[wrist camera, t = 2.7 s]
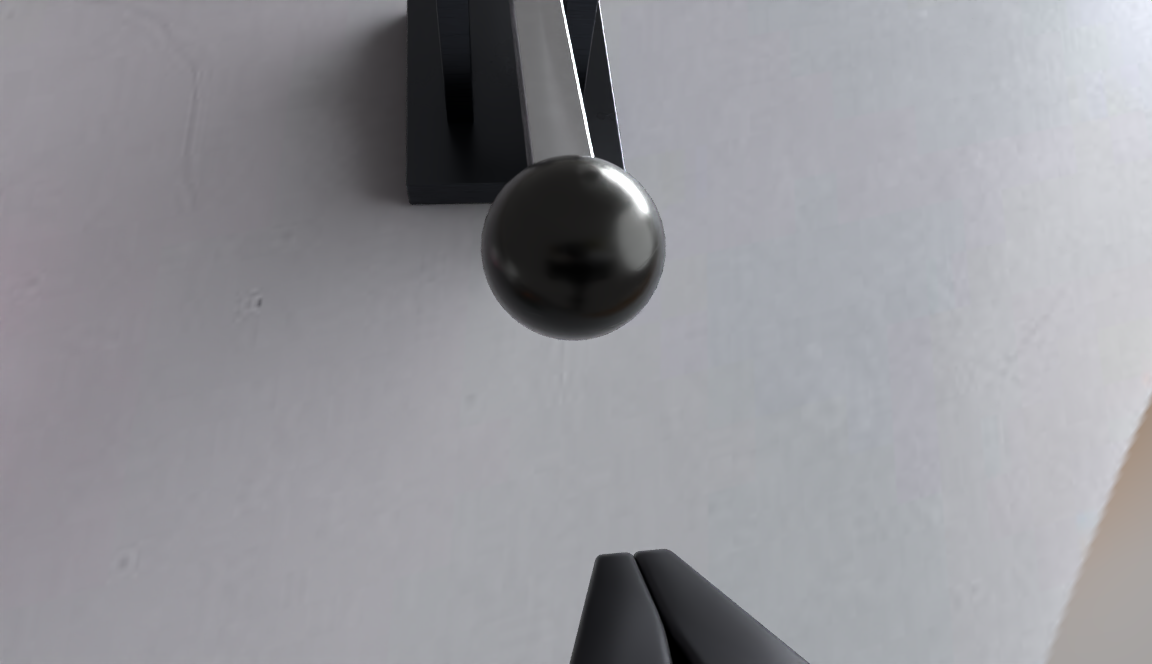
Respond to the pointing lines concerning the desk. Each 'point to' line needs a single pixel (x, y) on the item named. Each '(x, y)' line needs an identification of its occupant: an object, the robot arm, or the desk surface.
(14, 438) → the desk surface
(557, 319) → the lever
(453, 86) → the bracket
